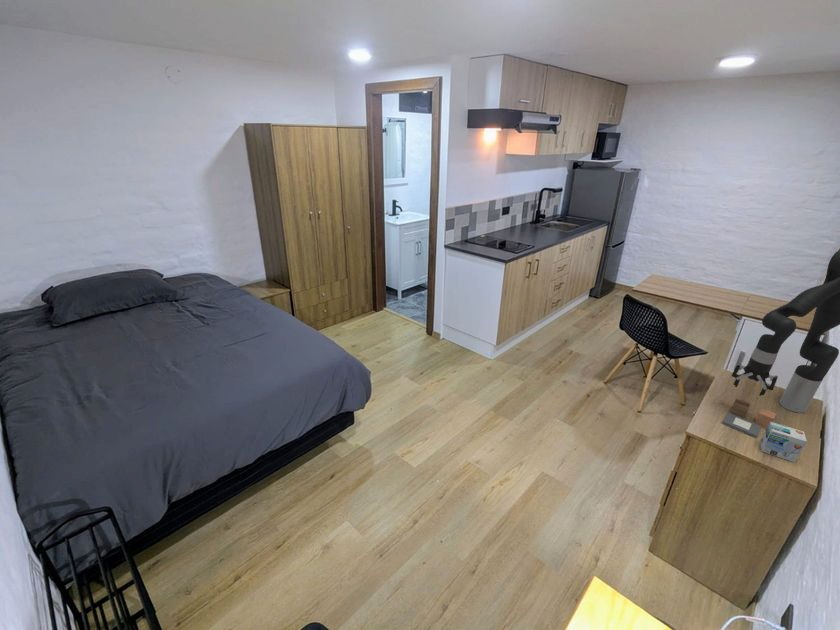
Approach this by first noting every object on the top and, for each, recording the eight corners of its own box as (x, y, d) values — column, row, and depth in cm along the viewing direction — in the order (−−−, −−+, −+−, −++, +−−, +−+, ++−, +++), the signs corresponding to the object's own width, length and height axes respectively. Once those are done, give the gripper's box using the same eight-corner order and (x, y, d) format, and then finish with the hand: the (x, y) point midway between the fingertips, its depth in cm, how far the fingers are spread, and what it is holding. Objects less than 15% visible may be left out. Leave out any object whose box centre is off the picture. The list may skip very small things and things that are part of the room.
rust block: (756, 418, 174) (761, 408, 171) (770, 424, 171) (776, 413, 168) (753, 424, 171) (759, 413, 168) (768, 430, 168) (774, 419, 165)
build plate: (727, 414, 177) (728, 412, 176) (760, 428, 169) (761, 425, 168) (722, 423, 171) (723, 421, 170) (756, 438, 163) (757, 435, 163)
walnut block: (731, 409, 180) (736, 398, 177) (745, 414, 177) (750, 403, 174) (729, 414, 177) (733, 403, 174) (742, 419, 174) (747, 408, 171)
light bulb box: (760, 451, 157) (771, 430, 152) (759, 441, 162) (769, 420, 157) (795, 463, 151) (808, 442, 146) (793, 452, 156) (804, 431, 152)
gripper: (786, 362, 162) (770, 394, 169) (743, 349, 171) (730, 380, 178) (783, 369, 157) (766, 402, 164) (739, 355, 166) (726, 386, 173)
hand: (747, 390), depth 171 cm, fingers open, 8 cm apart
